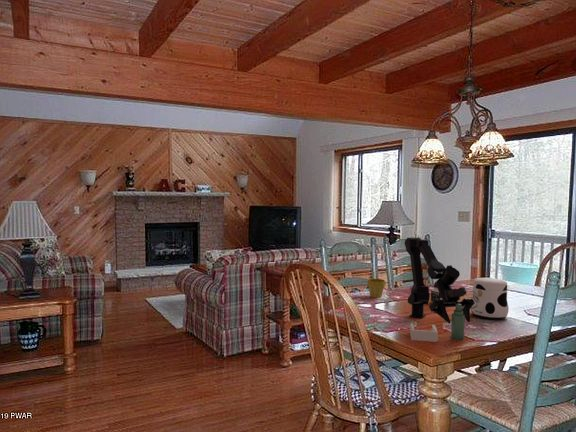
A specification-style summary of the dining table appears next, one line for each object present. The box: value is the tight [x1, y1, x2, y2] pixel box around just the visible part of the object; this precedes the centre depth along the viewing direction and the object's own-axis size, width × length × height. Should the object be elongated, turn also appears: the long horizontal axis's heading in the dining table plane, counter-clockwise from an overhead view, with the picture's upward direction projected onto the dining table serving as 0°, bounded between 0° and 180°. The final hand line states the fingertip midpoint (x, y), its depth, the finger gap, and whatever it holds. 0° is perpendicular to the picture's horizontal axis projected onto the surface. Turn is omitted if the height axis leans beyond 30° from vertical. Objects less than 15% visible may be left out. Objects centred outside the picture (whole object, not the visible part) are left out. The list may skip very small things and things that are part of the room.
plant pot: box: [366, 278, 386, 299], centre depth 262 cm, size 10×10×10 cm
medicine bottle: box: [430, 288, 442, 303], centre depth 249 cm, size 7×7×12 cm
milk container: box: [470, 277, 510, 320], centre depth 223 cm, size 17×17×18 cm
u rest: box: [409, 322, 439, 343], centre depth 190 cm, size 10×10×4 cm
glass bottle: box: [450, 303, 466, 341], centre depth 189 cm, size 5×5×14 cm
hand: (459, 322), depth 188 cm, fingers open, 9 cm apart
